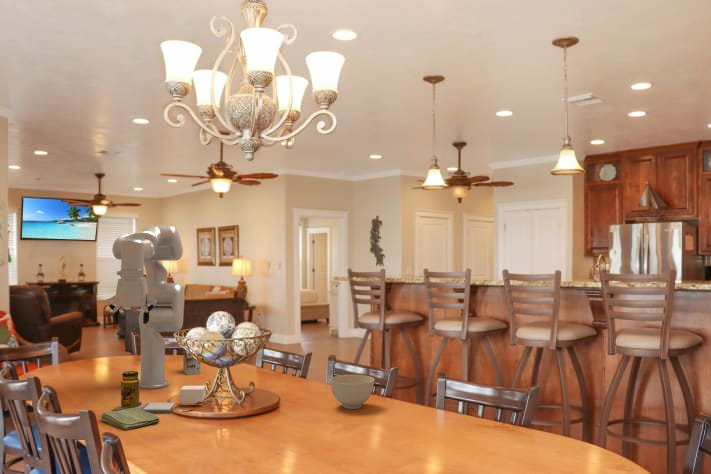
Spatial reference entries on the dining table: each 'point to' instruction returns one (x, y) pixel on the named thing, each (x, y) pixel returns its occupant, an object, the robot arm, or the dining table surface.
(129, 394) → the condiment
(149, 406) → the board
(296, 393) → the dining table surface
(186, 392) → the white block
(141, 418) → the washcloth
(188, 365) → the coffee box
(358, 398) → the bowl
